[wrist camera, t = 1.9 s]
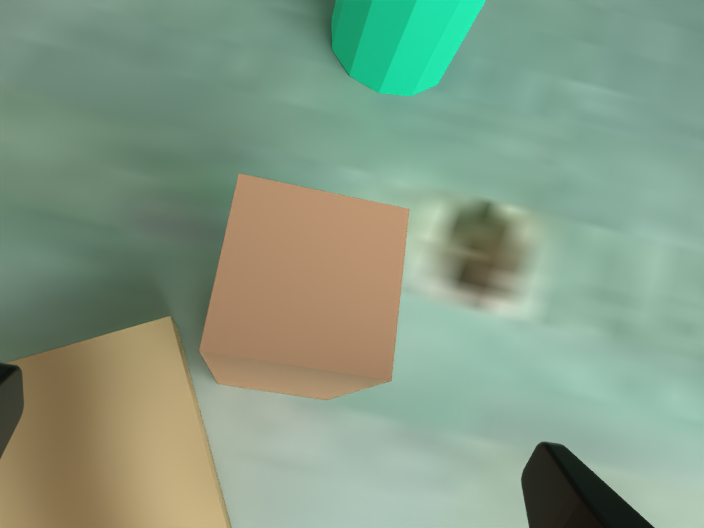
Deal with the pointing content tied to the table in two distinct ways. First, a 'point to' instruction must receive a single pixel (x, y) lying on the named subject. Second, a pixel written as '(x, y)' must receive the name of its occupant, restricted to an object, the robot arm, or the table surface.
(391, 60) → the candle
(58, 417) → the oak block
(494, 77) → the table surface
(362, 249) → the terracotta block
